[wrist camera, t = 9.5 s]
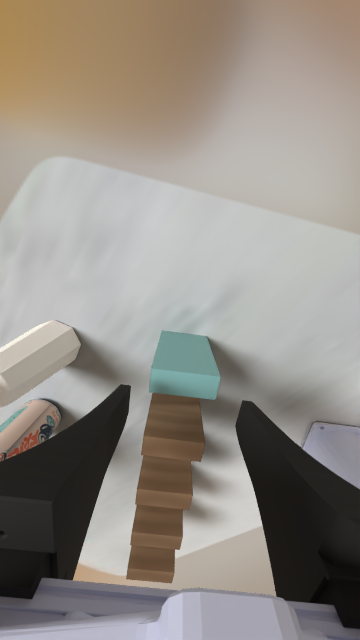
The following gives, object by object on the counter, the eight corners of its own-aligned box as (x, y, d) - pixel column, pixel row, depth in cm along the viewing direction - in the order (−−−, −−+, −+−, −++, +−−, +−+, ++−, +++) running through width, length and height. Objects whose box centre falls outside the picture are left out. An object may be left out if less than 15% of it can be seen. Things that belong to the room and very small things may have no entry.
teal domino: (203, 352, 22) (215, 399, 14) (160, 347, 22) (148, 392, 14) (206, 336, 22) (220, 376, 14) (162, 330, 21) (151, 368, 14)
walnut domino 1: (155, 378, 23) (143, 435, 15) (197, 383, 23) (204, 443, 16) (154, 392, 24) (141, 454, 16) (194, 397, 24) (200, 461, 16)
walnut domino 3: (146, 454, 26) (131, 532, 19) (182, 458, 27) (182, 537, 19) (144, 464, 27) (130, 544, 19) (180, 468, 27) (179, 549, 20)
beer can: (58, 431, 25) (-43, 571, 14) (22, 420, 25) (-114, 555, 13) (67, 403, 24) (-37, 531, 13) (28, 391, 24) (-116, 512, 12)
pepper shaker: (61, 372, 23) (-41, 465, 12) (23, 340, 22) (-125, 413, 11) (91, 344, 22) (8, 420, 11) (53, 309, 21) (-80, 357, 10)
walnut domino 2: (150, 418, 25) (137, 488, 17) (189, 423, 25) (192, 494, 17) (149, 431, 25) (135, 504, 18) (186, 435, 26) (189, 509, 18)
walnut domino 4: (142, 485, 28) (127, 568, 20) (176, 488, 28) (174, 572, 21) (140, 494, 29) (126, 579, 21) (174, 498, 29) (171, 583, 21)
